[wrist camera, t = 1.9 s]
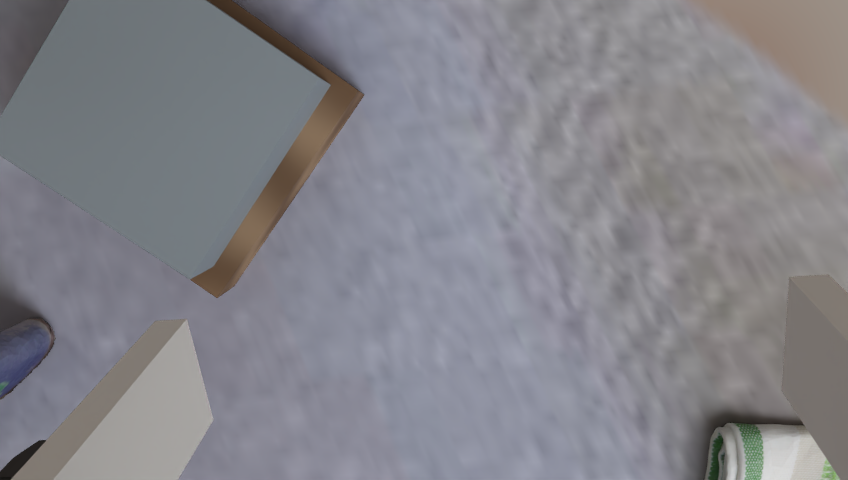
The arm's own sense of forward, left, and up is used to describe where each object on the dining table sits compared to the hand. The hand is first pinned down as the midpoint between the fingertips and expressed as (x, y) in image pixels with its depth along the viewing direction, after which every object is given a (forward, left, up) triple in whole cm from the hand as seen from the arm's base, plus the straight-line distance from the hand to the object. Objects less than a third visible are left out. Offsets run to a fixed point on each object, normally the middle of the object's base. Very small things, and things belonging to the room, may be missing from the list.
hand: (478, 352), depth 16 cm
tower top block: (-4, +16, -24) cm, 29 cm away
